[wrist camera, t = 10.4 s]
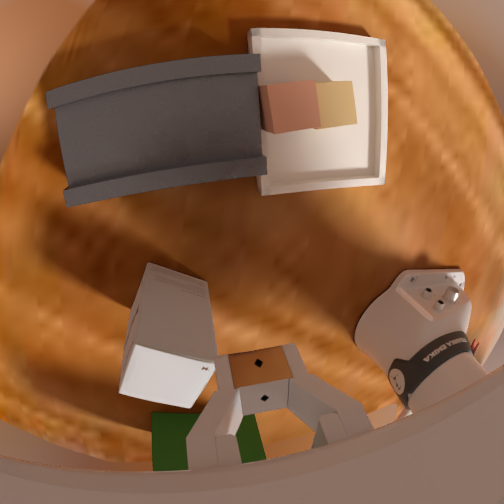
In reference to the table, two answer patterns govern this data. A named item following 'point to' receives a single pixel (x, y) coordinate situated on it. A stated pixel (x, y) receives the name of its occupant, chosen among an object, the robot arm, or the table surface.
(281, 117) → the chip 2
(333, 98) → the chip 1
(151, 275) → the supplement box
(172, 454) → the hardback book
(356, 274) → the table surface
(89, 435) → the table surface
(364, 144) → the tray
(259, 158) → the slot block
